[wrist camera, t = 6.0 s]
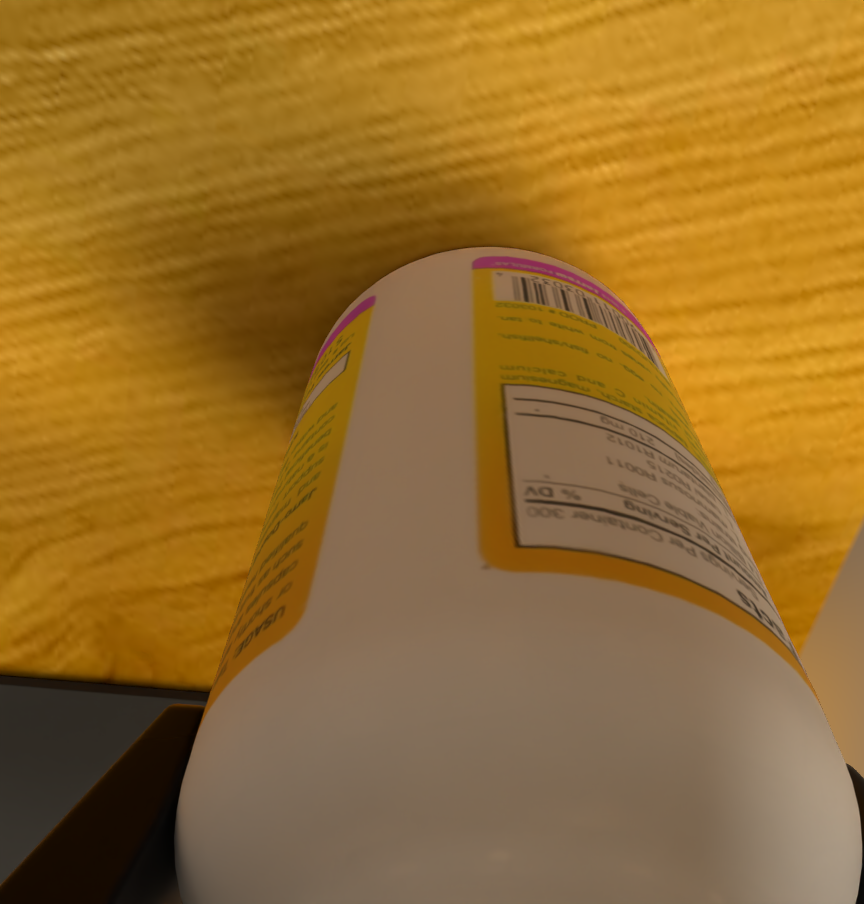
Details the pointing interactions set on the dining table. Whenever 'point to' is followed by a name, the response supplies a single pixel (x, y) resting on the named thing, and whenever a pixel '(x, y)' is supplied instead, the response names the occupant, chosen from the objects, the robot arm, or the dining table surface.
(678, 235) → the dining table surface
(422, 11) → the dining table surface
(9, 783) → the mat
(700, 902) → the supplement bottle
